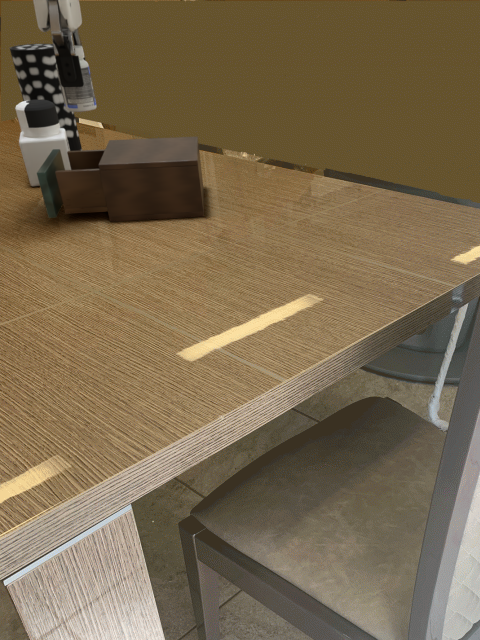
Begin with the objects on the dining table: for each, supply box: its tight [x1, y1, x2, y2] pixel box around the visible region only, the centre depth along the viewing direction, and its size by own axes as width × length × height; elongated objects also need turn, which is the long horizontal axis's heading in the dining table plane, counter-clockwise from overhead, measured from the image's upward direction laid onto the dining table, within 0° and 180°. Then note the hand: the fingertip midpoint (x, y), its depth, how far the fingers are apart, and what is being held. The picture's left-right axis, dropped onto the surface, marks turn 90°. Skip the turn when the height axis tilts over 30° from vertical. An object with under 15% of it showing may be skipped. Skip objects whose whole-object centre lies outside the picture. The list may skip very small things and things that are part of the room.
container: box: [14, 100, 71, 187], centre depth 114 cm, size 8×8×13 cm
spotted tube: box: [9, 43, 83, 151], centre depth 120 cm, size 8×8×20 cm
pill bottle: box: [56, 45, 98, 113], centre depth 97 cm, size 5×5×8 cm
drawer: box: [37, 148, 108, 219], centre depth 103 cm, size 15×13×7 cm
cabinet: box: [98, 136, 205, 223], centre depth 104 cm, size 15×15×9 cm
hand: (75, 81), depth 97 cm, fingers closed on pill bottle, 4 cm apart
